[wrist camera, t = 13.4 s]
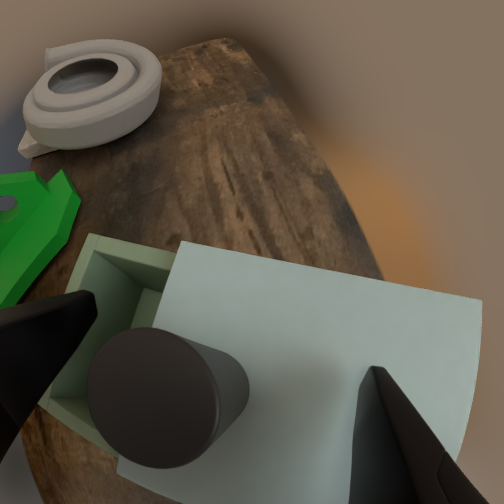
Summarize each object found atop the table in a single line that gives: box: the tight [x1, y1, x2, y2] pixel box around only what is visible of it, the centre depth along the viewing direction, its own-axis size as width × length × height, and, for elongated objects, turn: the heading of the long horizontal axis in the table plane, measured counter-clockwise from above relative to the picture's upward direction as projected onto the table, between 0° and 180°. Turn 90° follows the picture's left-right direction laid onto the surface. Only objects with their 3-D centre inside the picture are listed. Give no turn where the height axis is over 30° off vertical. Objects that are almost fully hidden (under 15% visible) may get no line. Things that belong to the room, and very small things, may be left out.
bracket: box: [0, 169, 81, 309], centre depth 17 cm, size 12×8×7 cm, turn 135°
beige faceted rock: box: [18, 130, 58, 159], centre depth 25 cm, size 10×6×6 cm, turn 84°
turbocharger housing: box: [23, 39, 162, 150], centre depth 22 cm, size 17×7×15 cm
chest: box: [38, 233, 177, 459], centre depth 12 cm, size 9×12×6 cm
